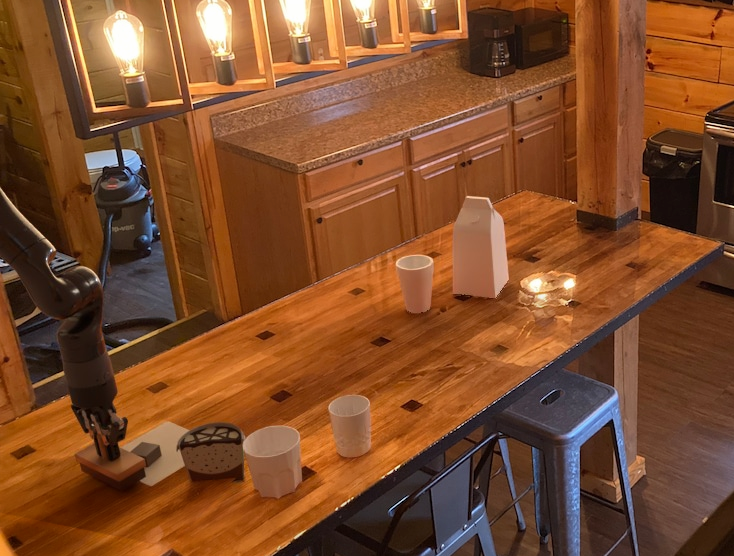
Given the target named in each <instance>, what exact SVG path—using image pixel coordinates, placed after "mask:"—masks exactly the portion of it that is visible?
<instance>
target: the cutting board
mask: <svg viewBox="0 0 734 556" xmlns="http://www.w3.org/2000/svg"><path fill="white" fill-rule="evenodd" d="M190 430H191V429H188V428H185V427H183V426H180V425H178V424H177V423H174V422H171V421H168V420H166V421H164V422H163V423H161V424H160V425H158V426H156V427H154V428H153V429H151V430H148V431H147V432H145V433H144V434H141V435H140V436H138V437H136V438H135V439H133V440H131V441H130V442H127V443H126V444H124V445H121V446H119V447H120V448H122V449H124V450H127V451H129V452H130V451H132V450H133V449H134V448H135V447H136V446H138V445H139V444H140V443H141V442H146V443H151V444H157V445H160V450H161V454H162V456H161V457H159V458H158V459H157V460H156V461H155V462H154V463H153V464H151V465H150V466H149V467H144V470H145V474H146V477H145V478H143V479H142V480H140V481H139V482H140V483H142V484H144V485H146V486H148V487H153V486H155V485H156V484H158V483H160V482H161V481H163V480H164V479H166V478H167V477H170V476H171V475H173V474H174V473H175V472H177V471H179V470H180V469H182V468H184V467H185V464H184V461H183V458H182V455H181V452H180V449H179V450H178V451H177V452H176V449H177V444H178V440H179V439H180V438H181V437H182V436H183V435H184V434H185V433H187V432H188V431H190Z"/></svg>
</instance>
